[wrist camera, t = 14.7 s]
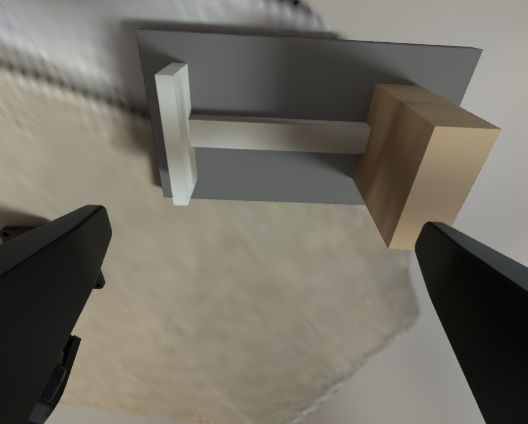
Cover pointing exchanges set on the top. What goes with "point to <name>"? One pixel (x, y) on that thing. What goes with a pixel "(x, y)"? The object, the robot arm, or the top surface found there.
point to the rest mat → (288, 102)
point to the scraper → (350, 150)
